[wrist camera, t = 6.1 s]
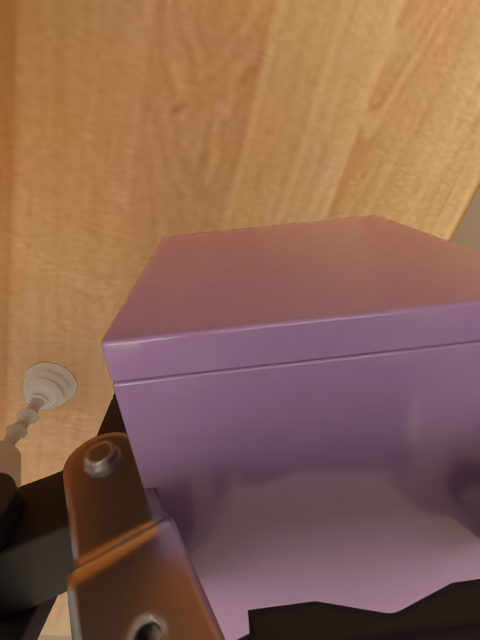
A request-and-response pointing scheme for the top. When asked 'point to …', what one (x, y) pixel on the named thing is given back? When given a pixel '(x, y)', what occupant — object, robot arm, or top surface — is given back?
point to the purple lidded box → (308, 410)
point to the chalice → (35, 409)
